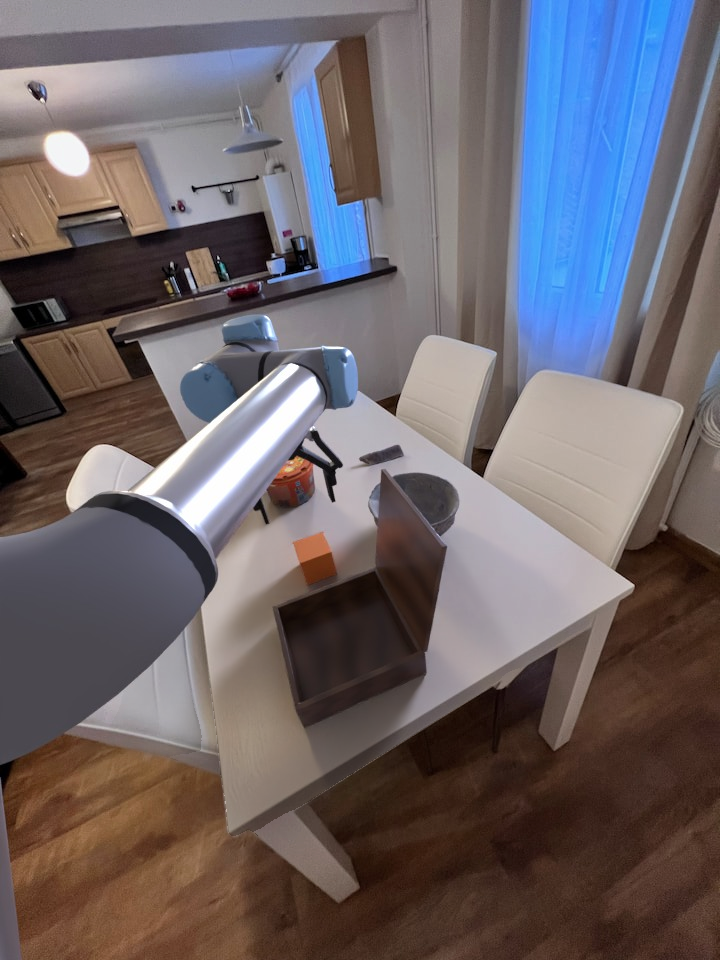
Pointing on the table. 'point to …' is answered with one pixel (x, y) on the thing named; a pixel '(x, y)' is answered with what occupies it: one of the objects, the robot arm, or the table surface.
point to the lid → (409, 558)
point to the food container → (293, 483)
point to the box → (345, 645)
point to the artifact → (382, 455)
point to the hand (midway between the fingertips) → (299, 509)
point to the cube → (315, 558)
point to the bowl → (425, 498)
